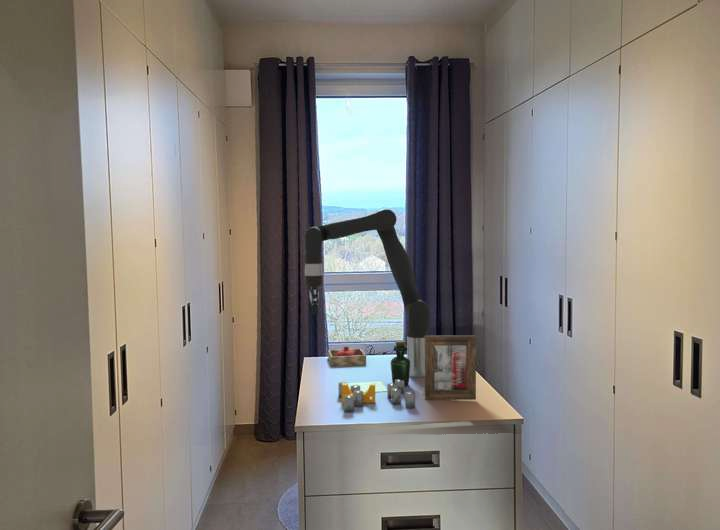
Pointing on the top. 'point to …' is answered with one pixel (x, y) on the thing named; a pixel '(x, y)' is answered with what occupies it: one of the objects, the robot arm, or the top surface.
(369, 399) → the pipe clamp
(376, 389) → the pad
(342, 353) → the butter dish
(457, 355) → the picture frame
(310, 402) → the top surface
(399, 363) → the potion bottle
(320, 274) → the robot arm
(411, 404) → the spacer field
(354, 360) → the frame
